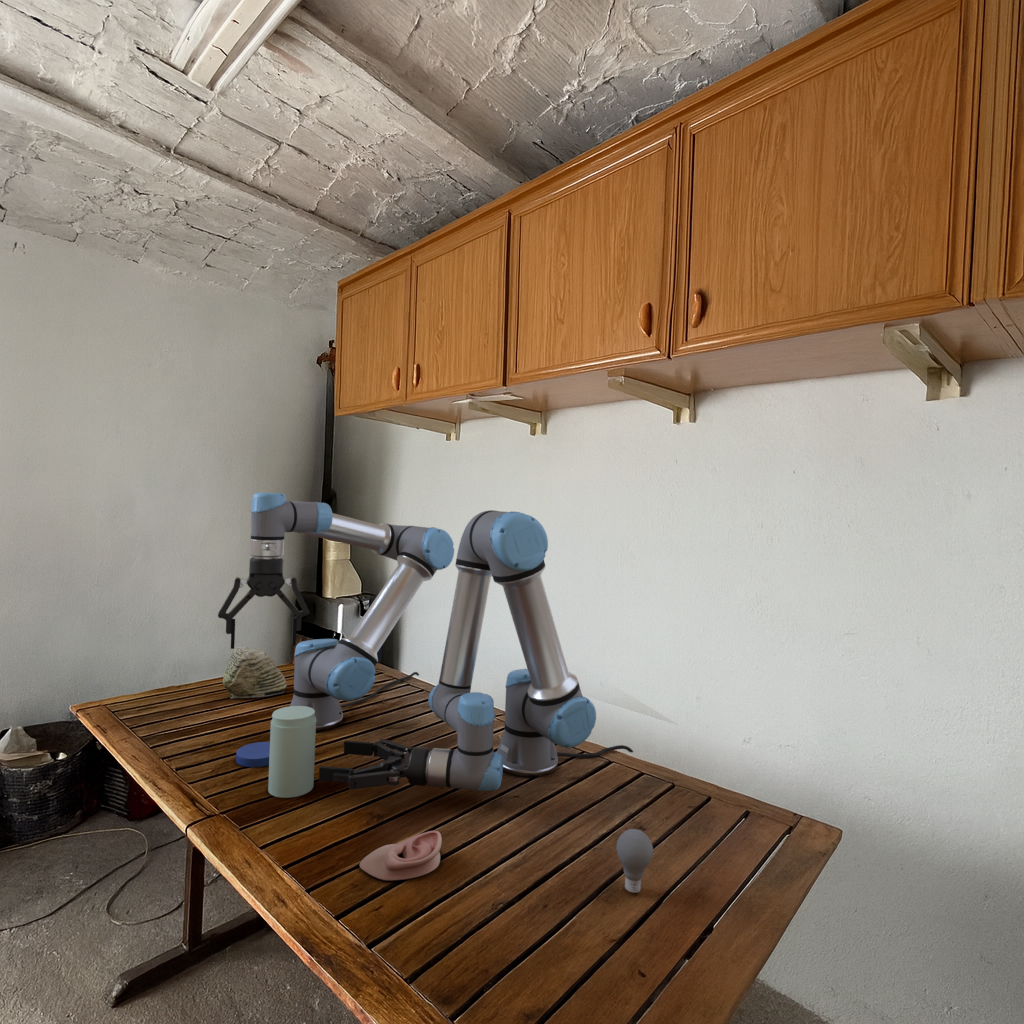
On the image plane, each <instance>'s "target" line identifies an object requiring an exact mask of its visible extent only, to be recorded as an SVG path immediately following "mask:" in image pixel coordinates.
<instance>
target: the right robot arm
mask: <svg viewBox="0 0 1024 1024" xmlns="http://www.w3.org/2000/svg"><path fill="white" fill-rule="evenodd" d="M548 548H549V539H548V535H547V531H546V529H545V527H544V526H543V525H542V524H541V522H540V521H539V520H538V519H536V518H535V517H533V516H532V515H529V514H527V513H524V512H520V511H499V510H494V509H493V510H492V509H491V510H489V509H488V510H484V511H481V512H479V513H477V514H476V515H474V516H473V517H472V518H471V519H469V521H468V523H467V524H466V526H465V527H464V530H463V532H462V535H461V537H460V541H459V544H458V549H457V553H456V558H455V565H454V566H455V567H456V569H457V571H458V573H457V579H456V584H455V589H454V595H453V601H452V606H451V612H450V618H449V622H448V629H447V634H446V639H445V646H444V651H443V656H442V662H441V667H440V673H439V678H438V684H436V685H435V686H433V688H432V690H431V691H430V692H429V694H428V701H427V702H428V706H429V708H430V710H431V711H432V713H433V714H435V716H436V717H437V719H440V720H441V721H443V722H444V723H445V724H447V726H449V727H450V728H451V729H452V730H454V731H455V732H456V734H457V744H456V745H457V746H456V747H457V748H456V749H451V748H438V747H433V748H432V749H431V748H430V747H422V746H421V747H419V746H408V745H404V744H401V743H398V742H395V741H392V740H389V739H386V738H380V739H378V741H374V742H367V741H357V740H356V741H355V740H344V741H343V754H344V755H351V756H352V755H355V756H368V757H372V756H373V757H374V758H376V757H378V758H381V760H384V761H381V762H380V763H379V764H376V765H372V766H368V767H363V768H359V769H353V767H338V766H325V765H321V766H319V767H318V781H319V782H329V783H342V784H348V790H351V791H352V790H354V791H355V790H361V789H362V790H363V789H369V788H375V787H384V786H398V785H400V778H406V779H407V782H408V784H409V785H410V786H418V787H426V786H427V785H428V786H429V787H435V788H440V790H444V789H445V788H448V789H459V790H470V791H477V792H495V791H497V790H499V789H500V788H501V785H502V781H503V772H504V773H507V774H510V775H513V776H518V777H525V778H534V777H535V778H537V777H543V776H547V775H549V774H552V773H554V772H555V771H556V770H557V769H558V767H559V757H567V758H595V757H600V756H602V755H603V754H605V753H607V752H612V751H617V750H626V751H627V752H629V753H634V750H633V749H632V748H631V747H629V746H627V745H623V744H619V745H614V746H609V747H605V748H601V750H599V751H596V752H591V753H572V752H558V751H557V748H556V745H557V746H559V747H562V748H565V749H572V748H577V747H578V746H580V745H582V744H583V743H584V742H585V741H586V740H587V739H588V738H589V737H590V735H591V734H592V731H593V729H594V728H595V725H596V722H597V711H596V707H595V705H594V703H593V702H592V701H591V700H590V699H589V698H588V697H586V696H583V693H582V690H581V687H580V682H579V679H578V676H576V674H574V673H572V672H571V671H569V669H568V666H567V662H566V658H565V656H564V655H565V654H564V651H563V648H562V643H561V641H560V638H559V633H558V630H557V627H556V624H555V620H554V616H553V613H552V610H551V605H550V602H549V599H548V595H547V592H546V588H545V585H544V582H543V578H542V574H543V572H544V571H545V569H546V563H545V557H546V556H547V554H546V553H547V551H548ZM492 580H493V583H496V584H497V585H500V586H501V587H502V588H503V592H504V595H505V599H506V602H507V605H508V608H509V612H510V616H511V618H512V622H513V625H514V628H515V632H516V635H517V638H518V641H519V645H520V648H521V649H520V650H521V652H522V655H523V659H524V662H525V665H526V668H519V669H514V670H512V671H510V672H509V673H508V674H507V676H506V683H505V706H504V728H503V729H504V731H503V734H502V737H501V739H500V742H499V745H498V747H497V750H496V751H494V729H495V728H494V727H495V717H496V715H495V701H494V698H493V697H492V696H491V695H490V694H488V693H483V692H480V691H479V692H478V691H473V692H471V691H472V684H473V678H474V673H475V668H476V662H477V655H478V651H479V646H480V640H481V634H482V629H483V623H484V618H485V612H486V607H487V606H486V605H487V601H488V595H489V592H490V591H489V590H490V585H491V581H492Z"/></svg>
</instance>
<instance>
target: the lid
mask: <svg viewBox="0 0 1024 1024" xmlns="http://www.w3.org/2000/svg"><path fill="white" fill-rule="evenodd" d="M269 755H270V741H258V742H252V743H248V744H244V745H243V746H241V747H239V748H238V749H237V750H236V753H235V762H236V764H237V765H239V766H241V767H244V768H245V767H246V768H261V767H266V766H269Z"/></svg>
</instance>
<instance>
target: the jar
mask: <svg viewBox="0 0 1024 1024" xmlns="http://www.w3.org/2000/svg"><path fill="white" fill-rule="evenodd" d="M271 718H272V719H271V720H270V728H269V731H270V732H269V742H270V755H269V765H268V784H267V792H268V793H269V794H270V795H271V796H273V797H276V798H282V799H289V798H297V797H300V796H301V797H302V796H304V795H306V794H308V793H309V792H311V791H312V790H313V789H314V783H315V762H316V761H315V759H316V735H317V734H316V733H317V732H316V717H315V710H314V709H313V708H310V707H306V706H290V705H289V706H285V707H281V708H277V709H275V710H274V711H273V712H272V714H271Z"/></svg>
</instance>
